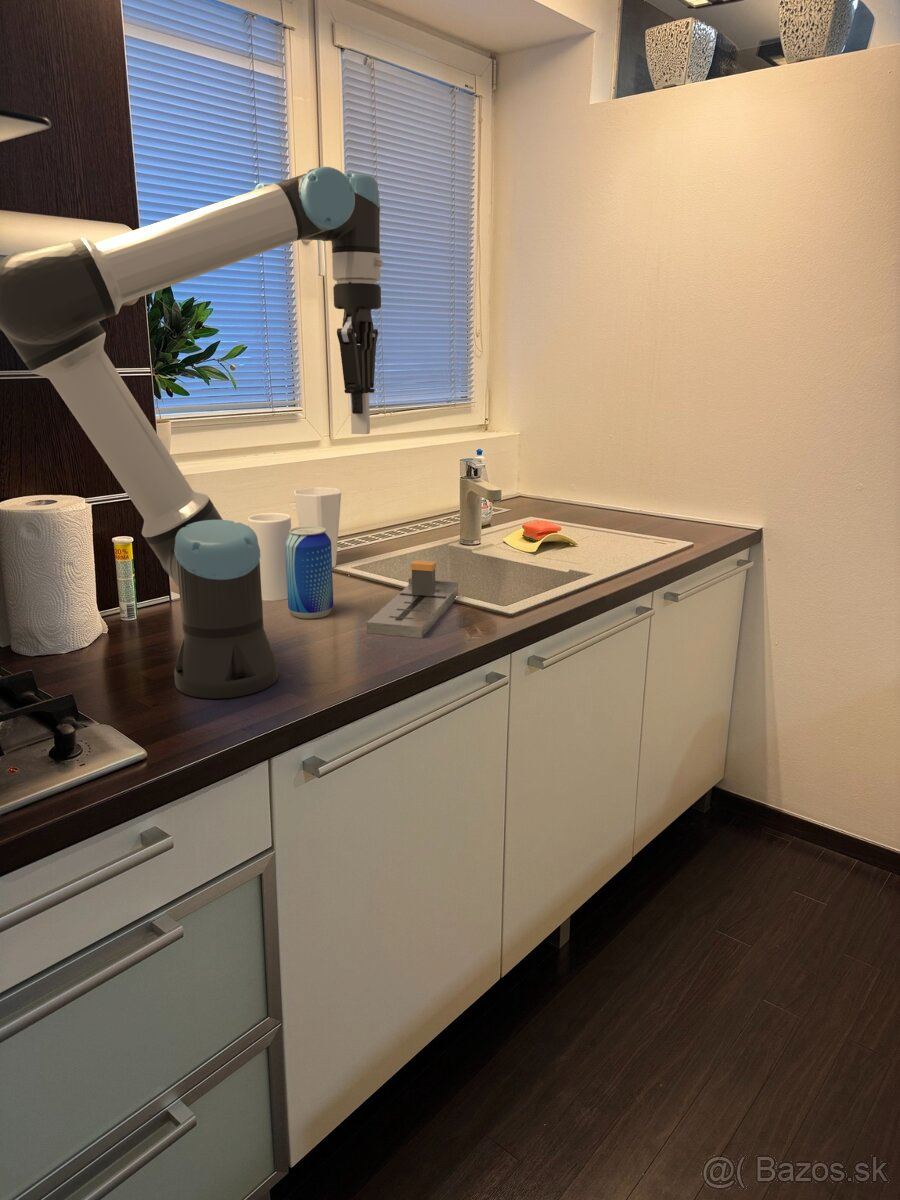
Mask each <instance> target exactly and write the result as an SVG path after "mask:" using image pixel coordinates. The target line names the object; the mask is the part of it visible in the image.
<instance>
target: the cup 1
mask: <svg viewBox="0 0 900 1200" xmlns="http://www.w3.org/2000/svg"><path fill="white" fill-rule="evenodd" d="M291 520H292V519H291V515H290V514H287V513H280V512H263V513H256V514H255V513H254V514H251V515H249V516H248V517H247V524H248V525H247V526H249V527H250V528H251V529H253V530H254V532H255V533H256V535H257V539H258V545H259V548H260V575H261V592H262V602H263V601H265V602H273V601H274V602H277V601H278V602H279V601H284V600H288V594H287V575H286V555H285V541H286V539H287V538H288V536H289V534H290V532H289V530H290V529H292V521H291Z"/></svg>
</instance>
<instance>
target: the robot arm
mask: <svg viewBox="0 0 900 1200" xmlns="http://www.w3.org/2000/svg"><path fill="white" fill-rule="evenodd" d="M380 204H381V203H380V192H379V184H378V182H377V179H375V178H374V176H371V175H369V174H364V173H355V172H354V173H348V172H347V173H344V172H342V171H341V170H339V169H337V168H335V167H332V166H331V167H330V166H321V167H315V168H312V169H309V170H307V171H306V172H305V173H303V174H300V175H297V176H294V177H292V178H289V179H286V180H283V181H282V180H281V181H280V182H275V181H273V182H272V183H271V182H260V183H258V184H256V186H255V187H254V189H253V190H252V191H249V192H245V193H243V194H240V195H237V196H234V197H230V198H227V199H225V200H221V201H219V202H216V203H212V204H209V205H206V206H204V207H201V208H197V209H195V210H191V211H188V212H186V213H182V214H179V215H176V216H173V217H171V218H167V219H164V220H161V221H158V222H155V223H151V224H149V225H145V226H142V227H140V228H136V229H134V230H133V229H132V230H130V231H127V232H124V233H121V234H119V235H115V236H112V237H109V238H107V239H104V240H100V241H98V242H92V241H90V240H88V239H86V238H84V237H80V238H77V239H75V240H74V239H73V240H71V241H68V242H64V243H61V244H55V245H53V246H52V245H51V246H47V247H43V248H41V247H40V248H34V249H29V250H22V251H17V252H13V253H11V254H9V255H6V256H4V257H3V258H2V259H1V260H0V331H2V332H3V333H4V335H5V337H7V339H8V341H9V342H10V344H11V346H12V347H13V348H14V349H15V351H16V353H17V354H18V356H19V357H20V359H21V360H22V361H23V363H24V364H25V365H26V367H27V368H28V370H29V372H31V374H35V375H37V376H40V377H44V378H46V379H48V380H49V381H50V382H51V384H52V385H53V387H54V389H55V390H56V392H57V393H58V395H60V397H61V399H62V400H63V401H64V403H65V405H66V406H67V408H68V409H69V411H70V412H71V413H72V415H73V416H74V418H75V420H76V421H77V422H78V424H79V425H80V427H81V429H82V430H83V431H84V433H85V434H86V436H87V437H88V440H90V442H91V444H92V445H93V446H94V448H95V449H96V451H97V452H98V454H99V455H100V456H101V458H102V460H103V461H104V463H105V464H106V465H107V467H108V468H109V469H110V471H111V472H112V474H113V476H114V477H115V479H116V480H117V482H118V483H119V484H120V486H121V488H122V489H123V490H124V491H125V493H126V495H127V496H128V497H129V500H131V502H132V503H133V506H135V508H136V510H137V511H138V513H139V514H140V515H141V517H142V519H143V525H142V529H141V535H142V536H143V538H144V539H145V541H146V543H147V544H148V545H149V547H150V548H151V549H152V551H153V553H154V554H155V556H156V557H157V558H158V560H159V561H160V564H161V567H162V568H163V569H164V571H165V572H166V574H168V576H169V577H170V578H171V579H172V580H173V582H174V583H175V585H176V586H177V588H178V594H179V601H180V612H181V613H180V614H181V625H182V639H181V642H180V646H179V650H178V654H177V657H176V662H175V666H174V669H173V670H174V672H173V673H174V675H173V676H174V684H175V687H176V689H177V690H178V691H179V692H180V693H182V694H184V695H186V696H191V697H194V698H199V699H200V698H202V699H230V698H237V697H243V696H247V695H252V694H255V693H258V692H261V691H263V690H265V689H268V688H269V687H270V686H273V685H274V684H275V683H276V682H277V680H278V678H279V669H278V667H279V664H278V660H277V657H276V656H275V653H274V650H273V648H272V645H271V643H270V640H269V638H268V635H267V633H266V631H265V628H264V627H265V626H264V614H263V613H264V612H263V600H262V592H261V575H260V548H259V545H258V539H257V535H256V533H255V532H254V530H253V529H251V528H250V527H249V526H248V525H247V524H244V523H242V522H235V521H233V520H229V519H228V520H227V519H223V517H222V516H221V515H220V513H219V511H218V510H217V508H216V507H215V505H214V503H213V501H212V500H211V498H210V497H209V496H208V495H207V494H206V493H201V492H196V491H195V490H193V488H192V487H191V485H190V484H189V482H188V481H187V479H186V477H185V476H184V474H183V473H182V471H181V469H180V468H179V466H178V465H177V463H176V462H175V460H174V459H173V457H172V456H171V454H170V452H169V451H168V449H167V448H166V446H165V444H164V442H163V441H162V440H161V438H160V437H159V435H158V433H157V431H156V430H155V429H154V427H153V425H152V424H151V422H150V421H149V419H148V418H147V415H146V414H145V413H144V411H143V410H142V409H141V407H140V405H139V403H138V402H137V400H136V399H135V397H134V396H133V394H132V393H131V391H130V389H129V388H128V386H127V384H126V383H125V381H124V380H123V378H122V377H121V375H120V374H119V372H118V371H117V369H116V367H115V365H114V364H113V363H112V361H111V359H110V358H109V356H108V355H107V353H106V351H105V349H104V345H105V340H106V338H107V337H106V335H107V333H106V331H105V329H104V328H103V327H102V325H101V324H100V322H101V321H103V320H105V319H107V318H110V317H113V316H116V315H118V314H119V312H120V309H122V305H123V304H124V303H127V302H130V301H133V300H135V299H139V298H141V297H145V296H147V295H150V294H152V293H155V292H157V291H161V290H164V289H166V288H168V287H172V286H175V285H178V284H180V283H182V282H186V281H188V280H192V279H194V278H197V277H200V276H202V275H205V274H208V273H210V272H213V271H216V270H218V269H221V268H226V267H227V266H231V265H233V264H236V263H238V262H242V261H244V260H246V259H250V258H253V257H255V256H258V255H261V254H263V253H264V254H265V253H266V252H268V251H271V250H274V249H277V248H280V247H284V246H286V245H289V244H291V243H294V242H297V241H300V240H301V241H302V240H303V241H322V242H331V259H332V263H331V264H332V265H331V266H332V280H333V281H335V282H336V284H334V286H333V288H332V289H333V291H332V292H333V306H334V308H336V309H337V310H343V318H342V328H340V327H339V328H337V329H336V336H337V339H338V343H339V349H340V351H339V352H340V360H341V367H342V376H343V382H344V383H343V384H344V390H343V391H344V393H345V394H350V425H351V427H350V429H351V435H369V434H371V428H370V427H371V425H370V424H371V423H370V419H371V417H370V393H371V394H374V393H375V390H376V389H375V388H374V386H375V371H376V369H375V368H376V354H377V353H376V351H377V340H378V336H379V330H378V329H377V328H376V329H375V328H374V323H373V318H372V310H380V309H381V307H382V289H381V288H382V287H381V286H380V285H379V284H378V283H377V282H379V281H381V267H383V265H384V262H383V260H382V259H381V248H380V247H381V243H380V241H381V238H380V237H381V236H380V233H381V231H380V230H381V227H380V226H381V224H380V223H381V221H380V220H381V218H380V215H381V206H380Z"/></svg>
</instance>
